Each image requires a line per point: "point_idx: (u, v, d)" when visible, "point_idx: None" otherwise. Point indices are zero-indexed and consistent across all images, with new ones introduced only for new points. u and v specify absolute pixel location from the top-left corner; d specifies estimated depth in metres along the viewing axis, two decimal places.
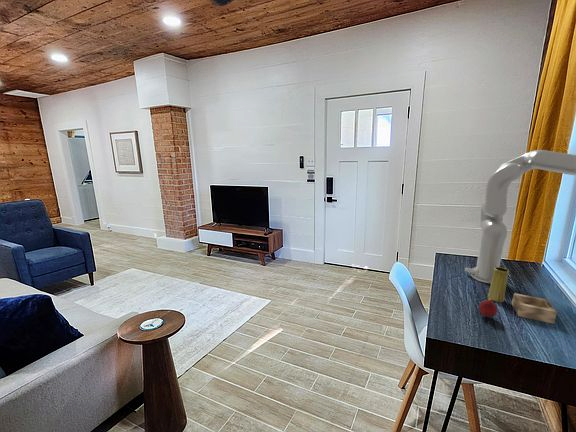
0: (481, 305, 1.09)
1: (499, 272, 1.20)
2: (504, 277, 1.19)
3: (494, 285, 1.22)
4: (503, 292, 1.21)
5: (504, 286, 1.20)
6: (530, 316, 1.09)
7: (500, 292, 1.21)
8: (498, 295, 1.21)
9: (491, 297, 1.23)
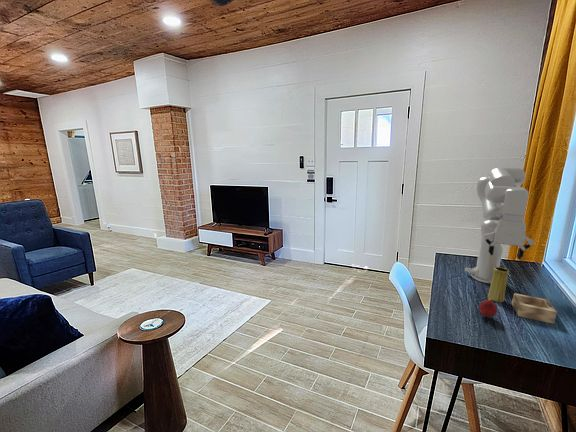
0: (481, 305, 1.09)
1: (499, 272, 1.20)
2: (504, 277, 1.19)
3: (494, 285, 1.22)
4: (503, 292, 1.21)
5: (504, 286, 1.20)
6: (530, 316, 1.09)
7: (500, 292, 1.21)
8: (498, 295, 1.21)
9: (491, 297, 1.23)
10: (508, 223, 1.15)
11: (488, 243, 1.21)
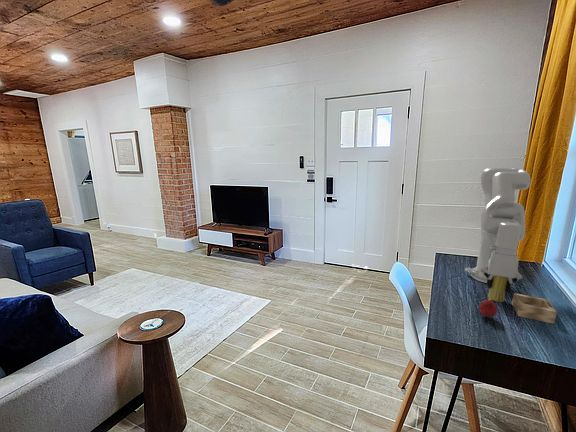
0: (481, 305, 1.09)
1: None
2: (504, 277, 1.19)
3: (494, 285, 1.22)
4: (503, 292, 1.21)
5: (504, 286, 1.20)
6: (530, 316, 1.09)
7: (500, 292, 1.21)
8: (498, 295, 1.21)
9: (491, 297, 1.23)
10: (501, 256, 1.18)
11: (486, 276, 1.24)
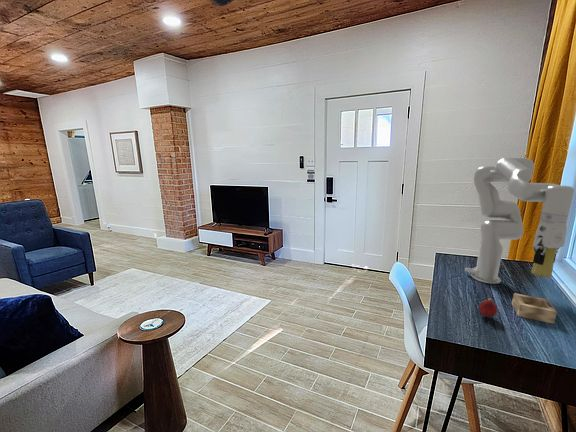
0: (481, 305, 1.09)
1: None
2: None
3: (547, 259, 1.05)
4: None
5: None
6: (530, 316, 1.09)
7: (552, 265, 1.06)
8: (551, 269, 1.06)
9: (544, 274, 1.07)
10: (558, 225, 1.02)
11: (539, 252, 1.05)
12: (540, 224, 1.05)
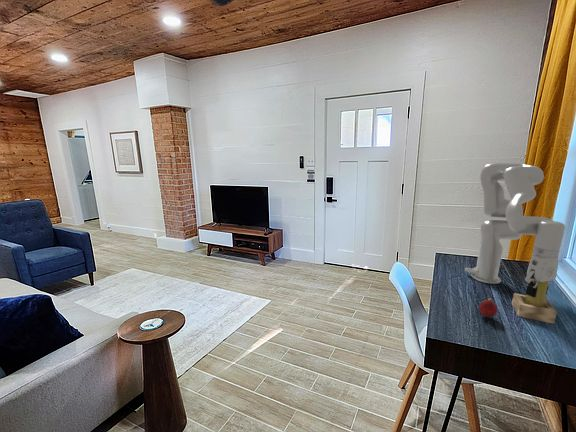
0: (481, 305, 1.09)
1: None
2: (548, 281, 1.08)
3: (540, 292, 1.08)
4: None
5: None
6: (530, 316, 1.09)
7: None
8: (543, 302, 1.09)
9: None
10: (549, 259, 1.05)
11: (532, 285, 1.08)
12: (532, 258, 1.08)
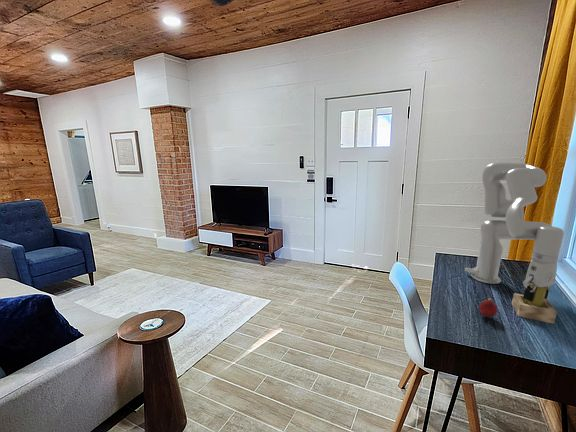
0: (481, 305, 1.09)
1: None
2: None
3: (537, 300, 1.09)
4: None
5: None
6: (530, 316, 1.09)
7: (542, 305, 1.10)
8: None
9: None
10: (548, 265, 1.06)
11: (529, 290, 1.08)
12: (531, 263, 1.08)
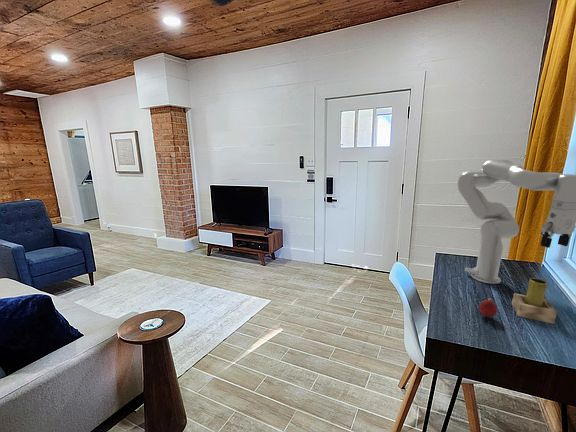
0: (481, 305, 1.09)
1: (542, 285, 1.08)
2: (545, 289, 1.09)
3: (537, 300, 1.10)
4: None
5: None
6: (530, 316, 1.09)
7: (542, 305, 1.10)
8: None
9: None
10: (568, 212, 1.08)
11: (546, 235, 1.11)
12: (551, 211, 1.11)
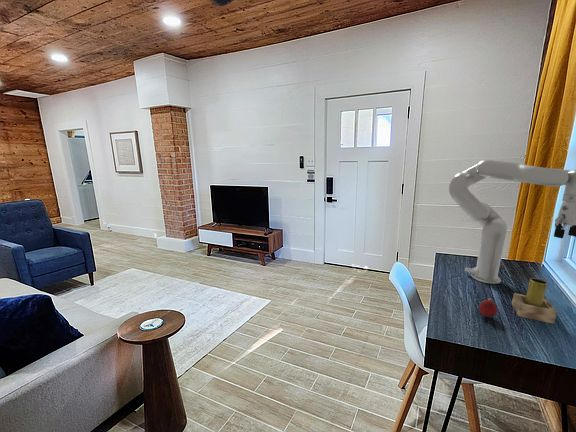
0: (481, 305, 1.09)
1: (542, 286, 1.08)
2: (545, 289, 1.09)
3: (537, 300, 1.09)
4: None
5: None
6: (530, 316, 1.09)
7: (542, 305, 1.10)
8: None
9: None
10: None
11: (560, 227, 1.19)
12: (563, 204, 1.20)
